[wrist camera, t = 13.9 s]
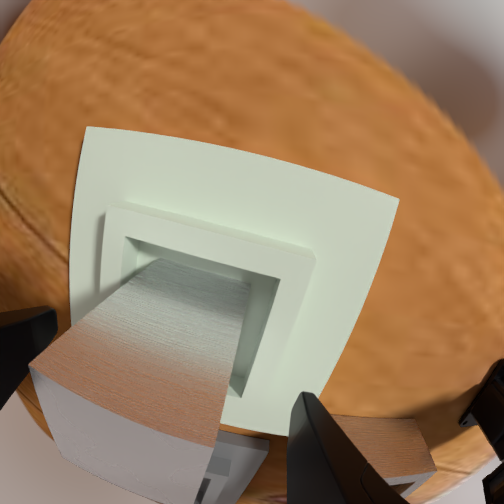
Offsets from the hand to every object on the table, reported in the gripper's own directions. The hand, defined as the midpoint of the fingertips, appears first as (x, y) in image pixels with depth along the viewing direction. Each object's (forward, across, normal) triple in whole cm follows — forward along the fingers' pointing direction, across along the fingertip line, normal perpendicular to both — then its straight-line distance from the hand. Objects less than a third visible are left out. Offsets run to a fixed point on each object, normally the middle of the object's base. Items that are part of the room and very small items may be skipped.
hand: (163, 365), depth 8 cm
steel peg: (+4, 0, 0) cm, 4 cm away
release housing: (+5, -12, +9) cm, 16 cm away
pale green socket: (+5, 0, 0) cm, 5 cm away
